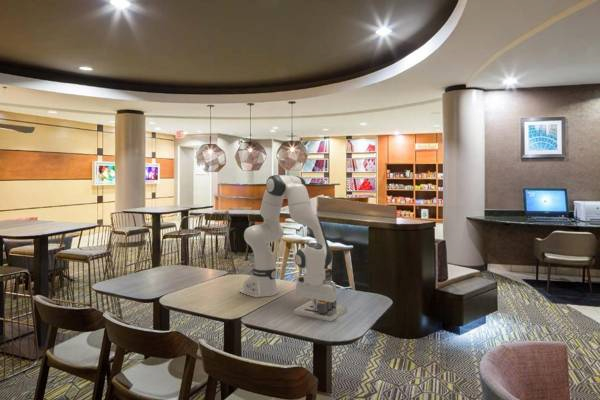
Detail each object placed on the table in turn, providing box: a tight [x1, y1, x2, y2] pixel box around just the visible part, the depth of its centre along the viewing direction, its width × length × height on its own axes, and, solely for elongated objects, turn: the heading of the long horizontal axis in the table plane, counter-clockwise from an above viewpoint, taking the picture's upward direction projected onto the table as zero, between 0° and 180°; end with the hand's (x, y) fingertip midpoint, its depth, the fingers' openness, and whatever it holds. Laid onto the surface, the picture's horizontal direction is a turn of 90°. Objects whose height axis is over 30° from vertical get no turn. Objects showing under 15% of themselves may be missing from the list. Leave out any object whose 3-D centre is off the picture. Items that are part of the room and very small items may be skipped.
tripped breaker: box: [318, 300, 328, 314], centre depth 175 cm, size 3×4×5 cm
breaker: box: [327, 302, 332, 310], centre depth 179 cm, size 3×4×5 cm
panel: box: [293, 300, 348, 323], centre depth 181 cm, size 20×16×2 cm
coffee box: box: [315, 267, 333, 301], centre depth 199 cm, size 9×6×16 cm
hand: (316, 308), depth 176 cm, fingers closed
